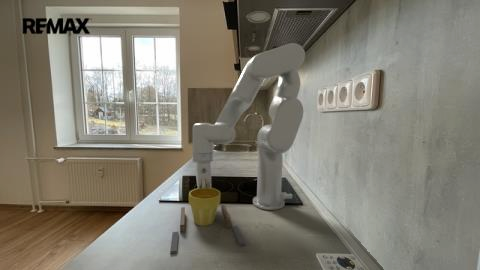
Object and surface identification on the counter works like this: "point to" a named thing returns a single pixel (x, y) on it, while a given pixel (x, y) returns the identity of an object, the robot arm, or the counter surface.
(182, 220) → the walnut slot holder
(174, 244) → the rubber strips
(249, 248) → the counter surface
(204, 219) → the plant pot
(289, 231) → the counter surface
